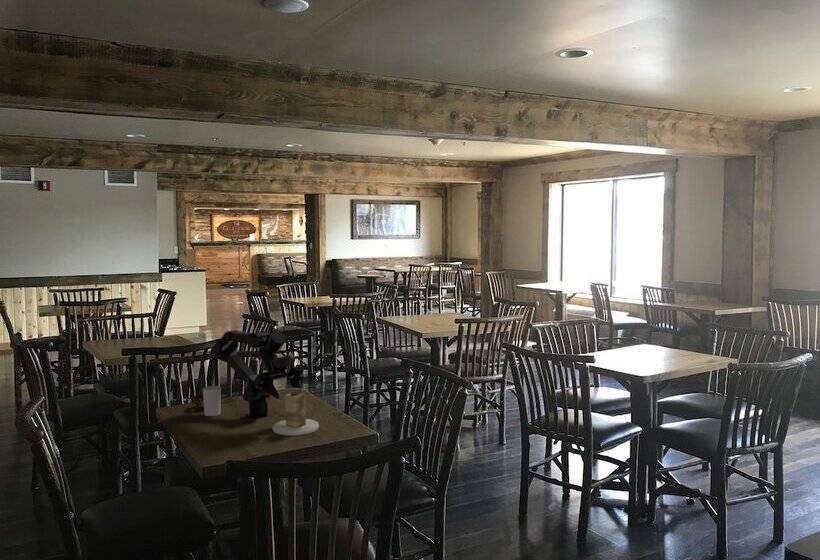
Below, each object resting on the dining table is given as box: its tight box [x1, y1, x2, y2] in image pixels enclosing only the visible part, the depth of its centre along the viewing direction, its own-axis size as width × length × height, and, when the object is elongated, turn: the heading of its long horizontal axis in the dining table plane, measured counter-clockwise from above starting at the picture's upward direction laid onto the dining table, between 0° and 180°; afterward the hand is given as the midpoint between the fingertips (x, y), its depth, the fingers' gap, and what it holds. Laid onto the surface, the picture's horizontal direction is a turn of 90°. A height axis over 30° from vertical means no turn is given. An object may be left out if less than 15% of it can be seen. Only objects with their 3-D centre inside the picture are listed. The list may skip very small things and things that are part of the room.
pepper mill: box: [284, 387, 307, 428], centre depth 225 cm, size 5×5×13 cm
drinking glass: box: [202, 385, 222, 417], centre depth 243 cm, size 7×7×10 cm
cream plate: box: [272, 418, 320, 437], centre depth 225 cm, size 16×16×1 cm
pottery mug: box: [192, 390, 204, 406], centre depth 254 cm, size 12×10×8 cm
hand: (289, 395), depth 227 cm, fingers open, 9 cm apart
